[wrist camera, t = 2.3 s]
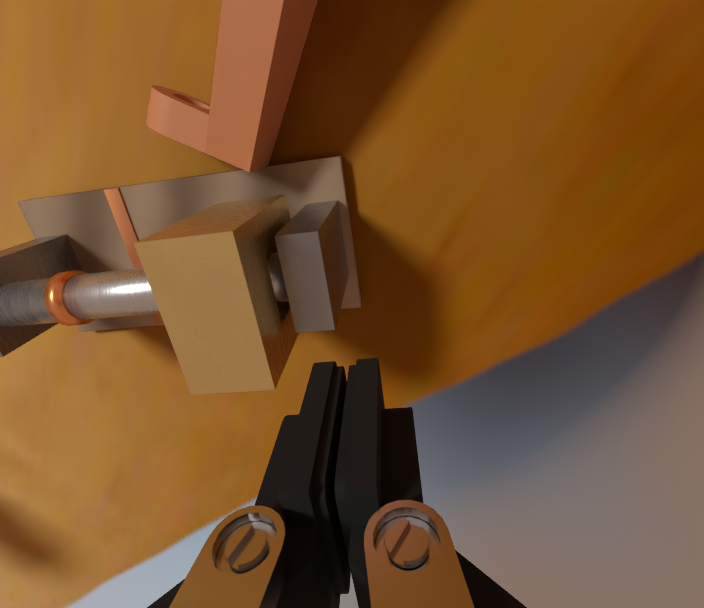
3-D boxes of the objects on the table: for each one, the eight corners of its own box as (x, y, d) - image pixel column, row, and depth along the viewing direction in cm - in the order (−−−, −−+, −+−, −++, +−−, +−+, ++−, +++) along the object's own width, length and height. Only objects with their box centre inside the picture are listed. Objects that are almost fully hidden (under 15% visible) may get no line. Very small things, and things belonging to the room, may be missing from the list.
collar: (285, 194, 22) (232, 231, 14) (308, 309, 25) (275, 389, 17) (218, 202, 22) (133, 243, 15) (248, 314, 25) (191, 394, 18)
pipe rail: (339, 197, 25) (317, 231, 17) (350, 270, 27) (334, 329, 19) (50, 234, 28) (-80, 277, 20) (79, 297, 30) (-28, 359, 22)
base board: (341, 155, 24) (339, 156, 23) (361, 302, 28) (361, 308, 27) (27, 199, 27) (15, 202, 26) (87, 327, 31) (79, 332, 30)
